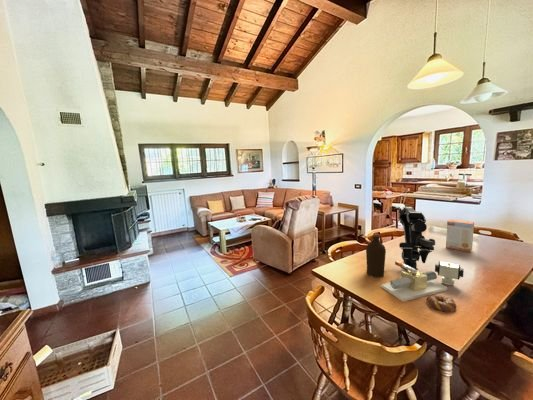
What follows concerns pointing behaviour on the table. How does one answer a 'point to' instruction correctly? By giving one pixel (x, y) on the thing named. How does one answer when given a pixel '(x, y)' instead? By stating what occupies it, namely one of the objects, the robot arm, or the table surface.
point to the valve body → (413, 280)
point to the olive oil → (375, 257)
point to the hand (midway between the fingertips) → (417, 262)
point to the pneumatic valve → (449, 272)
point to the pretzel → (441, 303)
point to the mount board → (409, 294)
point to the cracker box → (459, 235)
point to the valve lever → (405, 267)
